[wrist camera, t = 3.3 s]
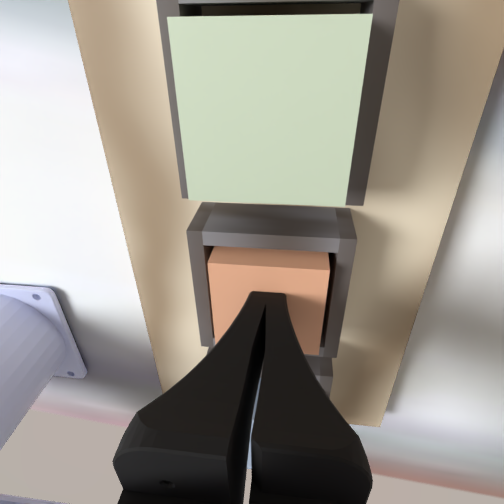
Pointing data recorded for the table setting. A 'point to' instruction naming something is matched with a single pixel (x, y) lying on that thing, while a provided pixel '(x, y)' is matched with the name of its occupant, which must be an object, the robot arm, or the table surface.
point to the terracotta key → (271, 287)
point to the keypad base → (298, 216)
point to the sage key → (269, 105)
